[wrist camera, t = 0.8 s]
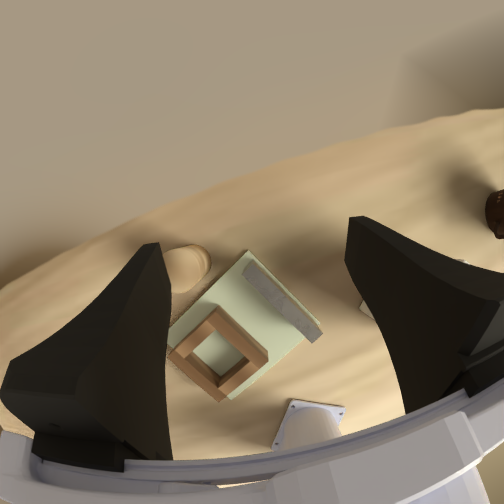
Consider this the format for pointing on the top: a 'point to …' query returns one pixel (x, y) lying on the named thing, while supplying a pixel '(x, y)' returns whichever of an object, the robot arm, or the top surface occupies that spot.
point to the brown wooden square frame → (202, 372)
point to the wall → (282, 301)
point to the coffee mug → (496, 213)
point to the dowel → (186, 266)
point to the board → (245, 314)
